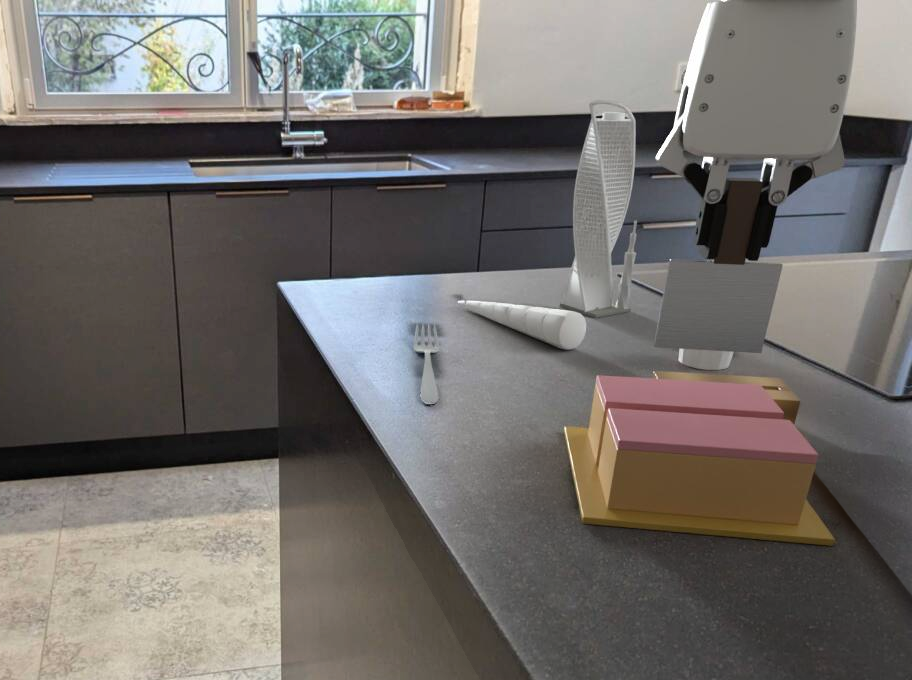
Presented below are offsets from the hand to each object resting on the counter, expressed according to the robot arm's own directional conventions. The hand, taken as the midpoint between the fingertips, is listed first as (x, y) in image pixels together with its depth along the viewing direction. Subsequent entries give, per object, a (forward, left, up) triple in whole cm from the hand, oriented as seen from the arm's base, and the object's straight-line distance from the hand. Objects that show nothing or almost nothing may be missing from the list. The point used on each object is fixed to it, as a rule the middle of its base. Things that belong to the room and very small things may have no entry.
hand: (727, 254), depth 62 cm
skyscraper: (+2, -55, -20) cm, 58 cm away
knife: (0, 0, -8) cm, 8 cm away
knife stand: (-6, -14, -19) cm, 25 cm away
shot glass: (-9, -33, -20) cm, 39 cm away
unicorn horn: (+13, -43, -20) cm, 49 cm away
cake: (0, 0, -19) cm, 19 cm away
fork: (+23, -25, -20) cm, 40 cm away
